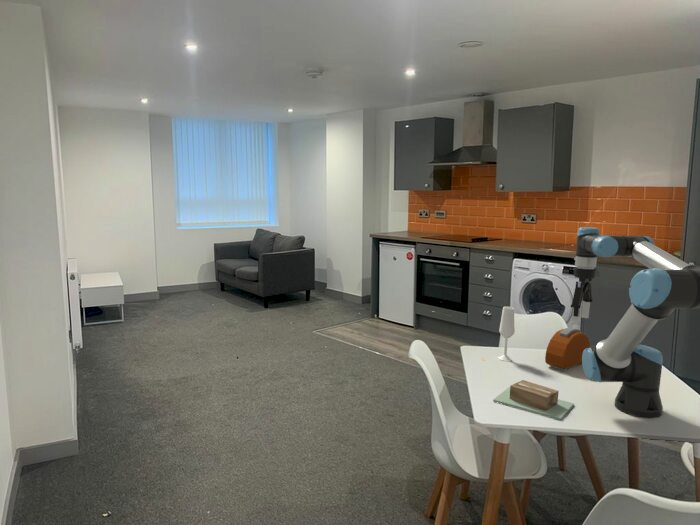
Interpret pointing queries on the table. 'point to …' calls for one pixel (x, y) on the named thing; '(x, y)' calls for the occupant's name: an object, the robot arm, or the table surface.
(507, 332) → the champagne flute
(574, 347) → the orange toaster
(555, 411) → the rubber mat
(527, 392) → the cardboard box
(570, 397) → the table surface
